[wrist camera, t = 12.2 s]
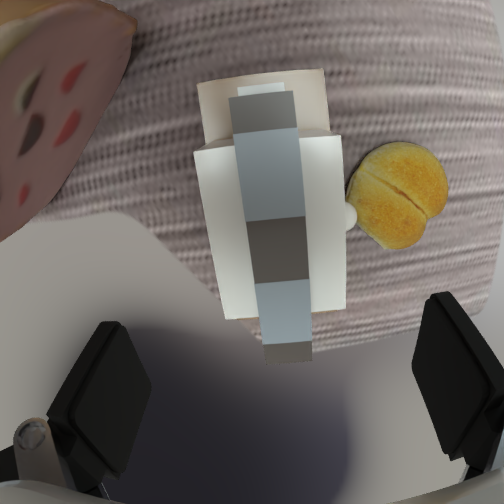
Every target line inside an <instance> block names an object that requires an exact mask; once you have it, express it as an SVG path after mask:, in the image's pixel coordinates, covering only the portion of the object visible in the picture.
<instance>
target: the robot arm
mask: <svg viewBox="0 0 504 504" xmlns="http://www.w3.org/2000/svg"><path fill="white" fill-rule="evenodd" d="M412 371H413V374H414V377H415V379H416V381H417V384H418V386H419V389H420V391H421V394H422V396H423V399H424V402H425V404H426V407H427V409H428V412H429V415H430V417H431V420H432V423H433V425H434V428H435V431H436V434H437V437H438V440H439V442H440V445H441V448H442V451H443V452H444V454H448V455H449V458H450V461H453V460H456V459H458V458H461V457H464V459H465V462H466V467H465V469H464V472H463V474H462V476H461V478H460V481H459V483H458V484H455V485H452V486H449V487H446V488H443V489H440V490H437V491H433V492H430V493H427V494H423V495H420V496H416V497H412V498H409V499H405V500H401V501H397V502H393V503H388V504H504V369H503V367H502V365H501V364H500V362H499V360H498V359H497V357H496V356H495V355H494V353H493V351H492V350H491V348H490V347H489V345H488V344H487V342H486V341H485V339H484V338H483V336H482V335H481V333H479V331H478V329H477V328H476V326H475V325H474V324H473V322H472V321H471V319H470V318H469V317H468V315H467V314H466V313H465V311H464V310H463V308H462V307H461V306H460V304H459V303H458V302H457V300H456V299H455V298H454V297H453V295H452V294H451V293H450V292H448V291H446V292H440V293H434V294H431V296H430V299H427V300H426V302H425V306H424V311H423V316H422V321H421V325H420V330H419V334H418V339H417V344H416V347H415V352H414V355H413V359H412ZM150 393H151V382H150V380H149V378H148V376H147V374H146V372H145V370H144V367H143V365H142V363H141V361H140V359H139V357H138V355H137V352H136V350H135V348H134V346H133V344H132V341H131V339H130V337H129V334H128V332H127V330H126V328H125V327H124V326H122V325H121V324H120V323H119V322H117V321H105V322H101V323H100V324H99V325H98V327H97V329H96V330H95V332H94V334H93V335H92V337H91V338H90V340H89V341H88V343H87V345H86V346H85V348H84V349H83V351H82V353H81V354H80V356H79V358H78V359H77V361H76V363H75V364H74V366H73V368H72V369H71V371H70V373H69V374H68V376H67V378H66V380H65V381H64V383H63V385H62V387H61V388H60V390H59V392H58V394H57V395H56V397H55V399H54V401H53V403H52V404H51V406H50V408H49V410H48V412H47V414H46V415H47V416H48V417H49V420H48V421H47V422H46V421H45V420H44V419H41V418H30V419H27V420H26V421H24V422H23V423H21V424H20V426H18V428H17V430H16V431H15V434H14V437H13V445H12V446H10V447H8V448H6V449H4V450H2V451H0V504H123V503H119V502H115V501H110V499H109V497H108V495H107V493H106V491H105V489H104V486H103V485H102V479H103V476H104V477H107V478H112V479H116V480H119V477H120V473H123V472H124V471H125V469H126V466H127V463H128V460H129V457H130V453H131V451H132V447H133V444H134V441H135V438H136V435H137V432H138V429H139V426H140V423H141V420H142V417H143V414H144V411H145V408H146V405H147V402H148V399H149V396H150Z"/></svg>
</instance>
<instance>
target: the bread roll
mask: <svg viewBox="0 0 504 504" xmlns="http://www.w3.org/2000/svg"><path fill="white" fill-rule="evenodd" d="M447 197H448V182H447V178H446V175H445V172H444V169H443V167H442V165H441V163H440V162H439V160H438V159H437V158H436V157H435V156H434V155H433V153H432V152H430V151H429V150H428V149H426V148H424V147H422V146H419V145H416V144H412V143H408V142H393V143H388V144H385V145H382V146H380V147H378V148H376V149H375V150H373V151H371V152H370V153H369V154H368V155H367V156H366V157H365V158H364V159H363V161H362V162H361V164H360V166H359V168H358V169H357V170H356V171H355V172H354V174H353V175H352V177H351V179H350V182H349V184H348V188H347V192H346V198H345V202H348V203H350V204H351V205H353V206H354V208H355V210H356V212H357V221H356V224H357V225H358V226H359V227H360V228H361V229H362V230H363V231H365V232H366V233H367V234H368V235H369V236H370V237H371V238H373V239H374V240H375V241H376V242H378V243H379V245H381V246H382V247H383V248H384V249H385V250H387V249H403V248H407V247H409V246H411V245H413V244H414V243H416V242H417V241H418V240H419V239H420V238H421V236H422V235H423V232H424V230H425V226H426V222H427V219H430V218H431V217H434V216H436V215H438V214H439V213H440V212H441V211H442V210H443V209H444V207H445V204H446V201H447Z"/></svg>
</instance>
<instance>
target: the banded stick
mask: <svg viewBox="0 0 504 504" xmlns="http://www.w3.org/2000/svg"><path fill="white" fill-rule="evenodd" d="M228 100H229V107H230V114H231V122H232V129H233V139H234V146H235V153H236V160H237V167H238V174H239V181H240V188H241V195H242V202H243V209H244V216H245V222H246V227H247V234H248V241H249V248H250V255H251V262H252V269H253V276H254V286H255V293H256V300H257V307H258V314H259V321H260V328H261V335H262V342H263V346H264V353H265V360H266V364H281V363H293V362H305V361H312V322H311V295H310V278H309V263H308V246H307V231H306V217H305V216H306V211H305V198H304V186H303V175H302V164H301V154H300V144H299V135H298V127H297V121H296V112H295V104H294V96H293V90H292V91H280V92H270V93H261V94H252V95H244V96H237V97H230V98H228Z"/></svg>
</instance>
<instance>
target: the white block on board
mask: <svg viewBox="0 0 504 504" xmlns="http://www.w3.org/2000/svg"><path fill="white" fill-rule="evenodd" d="M197 90H198V96H199V103H200V110H201V116H202V123H203V130H204V136H205V142H206V145H204V146H203V147H201V148H199V149H197V150H195V151H194V152H193V153H194V159H195V165H196V171H197V176H198V182H199V188H200V193H201V199H202V204H203V210H204V215H205V221H206V226H207V231H208V236H209V241H210V247H211V252H212V257H213V262H214V267H215V272H216V277H217V281H218V286H219V291H220V296H221V301H222V305H223V310H224V315H225V319H237V320H245V319H259V314H258V307H257V300H256V293H255V286H254V276H253V269H252V262H251V255H250V248H249V241H248V234H247V227H246V222H245V216H244V209H243V202H242V195H241V188H240V181H239V174H238V167H237V160H236V153H235V146H234V139H233V129H232V122H231V114H230V107H229V100H228V98H230V97H237V96H244V95H252V94H261V93H270V92H280V91H292V90H293V96H294V104H295V112H296V121H297V127H298V135H299V144H300V154H301V164H302V175H303V186H304V198H305V211H306V216H305V217H306V231H307V246H308V263H309V278H310V295H311V314H315V313H325V312H334V311H337V310H338V309H346V231H348V230H350V229H352V228H353V227H354V226H355V224H356V221H357V212H356V210H355V208H354V206H353V205H351V204H350V203H348V202H345V191H344V173H343V157H342V144H341V135H338V134H335V133H333V132H330V123H329V113H328V104H327V95H326V87H325V79H324V72H323V69H306V70H292V71H280V72H270V73H261V74H252V75H245V76H237V77H231V78H224V79H218V80H212V81H207V82H201V83H197Z"/></svg>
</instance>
